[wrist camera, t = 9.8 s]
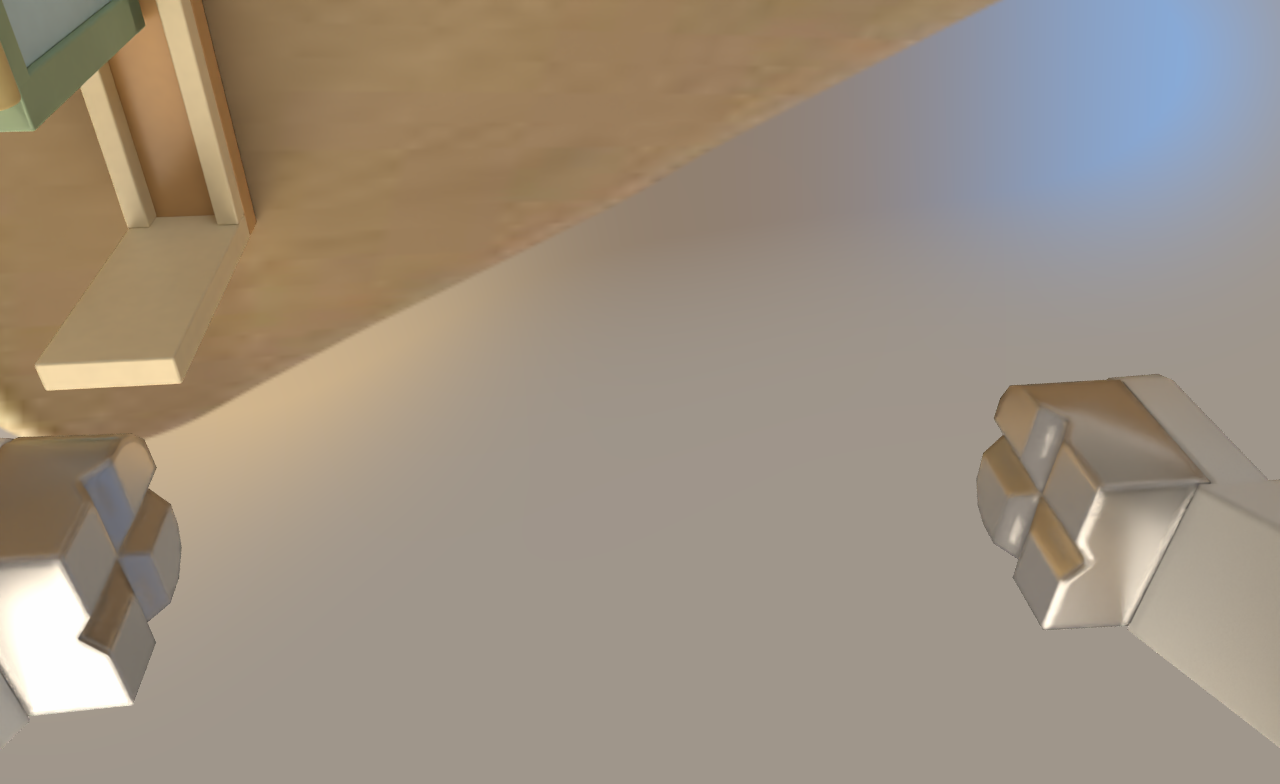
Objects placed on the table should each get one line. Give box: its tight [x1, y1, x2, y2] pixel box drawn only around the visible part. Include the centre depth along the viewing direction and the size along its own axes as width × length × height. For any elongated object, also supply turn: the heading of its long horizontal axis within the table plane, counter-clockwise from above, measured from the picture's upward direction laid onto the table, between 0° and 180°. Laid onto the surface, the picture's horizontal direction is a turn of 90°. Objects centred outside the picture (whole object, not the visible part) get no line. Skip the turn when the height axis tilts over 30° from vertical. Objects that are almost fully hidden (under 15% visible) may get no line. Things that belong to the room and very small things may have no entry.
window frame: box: [35, 0, 256, 390], centre depth 28 cm, size 4×18×11 cm, turn 179°
